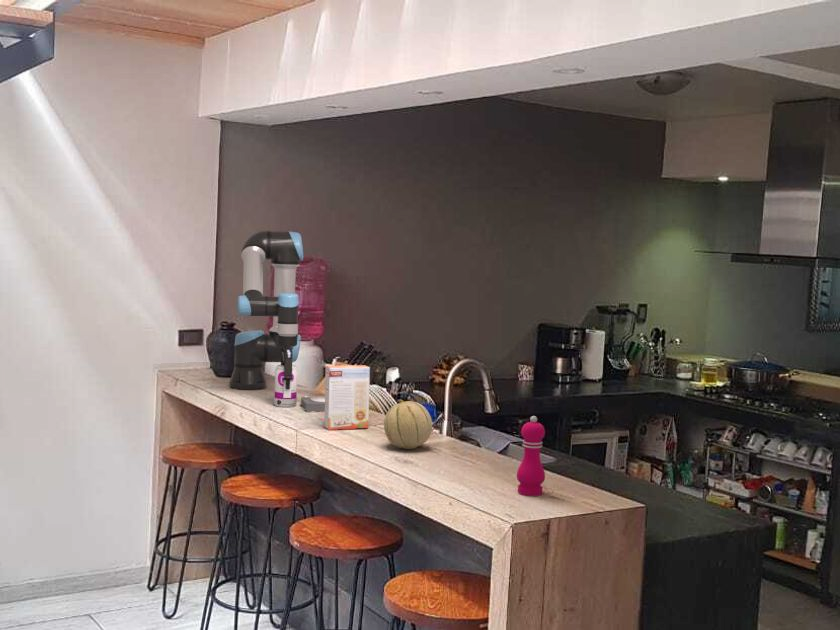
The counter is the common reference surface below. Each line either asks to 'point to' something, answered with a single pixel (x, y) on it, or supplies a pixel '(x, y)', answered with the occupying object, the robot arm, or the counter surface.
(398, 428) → the cantaloupe
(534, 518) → the counter surface
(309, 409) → the grey flat block
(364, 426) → the cracker box
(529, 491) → the pepper mill
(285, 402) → the supplement can
